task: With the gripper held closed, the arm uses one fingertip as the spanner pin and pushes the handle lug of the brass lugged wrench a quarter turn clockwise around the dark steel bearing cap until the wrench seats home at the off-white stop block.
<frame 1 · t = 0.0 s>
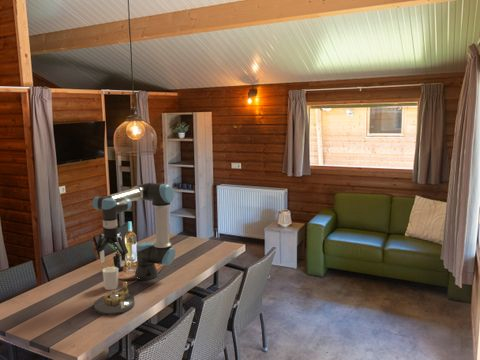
hand: (112, 264, 225), 28 cm above the table, fingers open, 13 cm apart
bearing cap: (114, 306, 236), on the table
candle holder: (111, 287, 261), on the table
brass lugged wrench: (117, 292, 237), point 7 cm above the table, hinge at 0.0°
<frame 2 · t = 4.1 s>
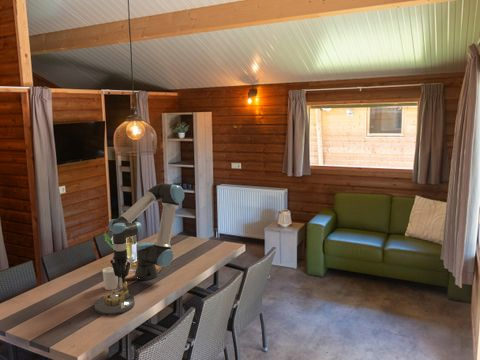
hand: (122, 287, 244), 7 cm above the table, fingers closed
brass lugged wrench: (117, 292, 237), point 7 cm above the table, hinge at 0.0°, touching gripper
everything else where it was.
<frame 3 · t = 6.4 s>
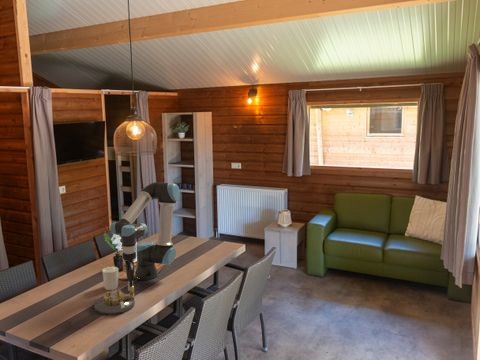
hand: (130, 290, 240), 7 cm above the table, fingers closed
brass lugged wrench: (119, 294, 236), point 7 cm above the table, hinge at 45.7°, touching gripper
everything else where it was.
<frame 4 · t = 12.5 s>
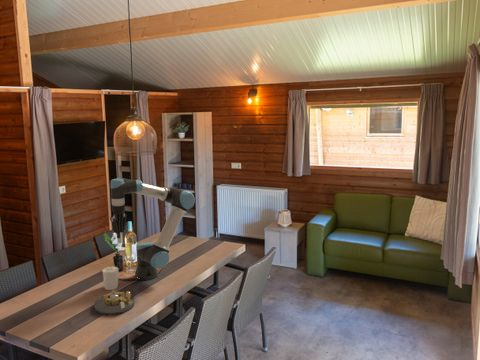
hand: (120, 242, 248), 32 cm above the table, fingers closed
brass lugged wrench: (118, 295, 234), point 7 cm above the table, hinge at 90.8°
everything else where it was.
at the end: brass lugged wrench at +91° (first picture: +0°) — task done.
